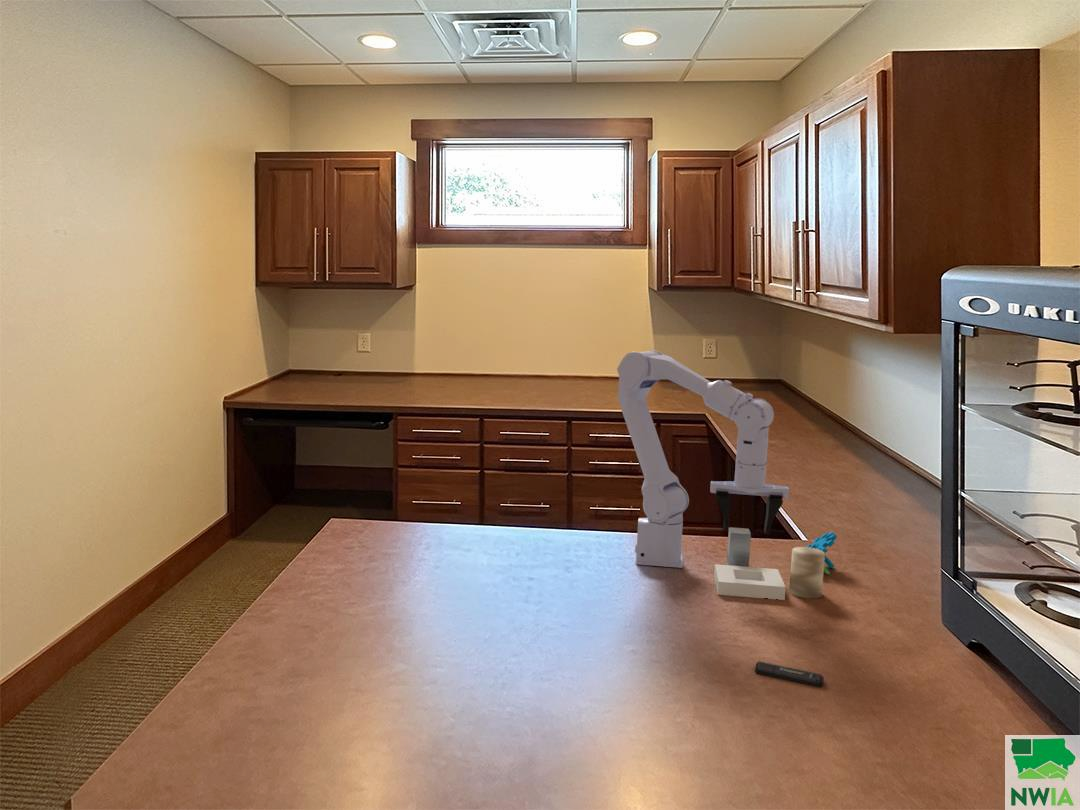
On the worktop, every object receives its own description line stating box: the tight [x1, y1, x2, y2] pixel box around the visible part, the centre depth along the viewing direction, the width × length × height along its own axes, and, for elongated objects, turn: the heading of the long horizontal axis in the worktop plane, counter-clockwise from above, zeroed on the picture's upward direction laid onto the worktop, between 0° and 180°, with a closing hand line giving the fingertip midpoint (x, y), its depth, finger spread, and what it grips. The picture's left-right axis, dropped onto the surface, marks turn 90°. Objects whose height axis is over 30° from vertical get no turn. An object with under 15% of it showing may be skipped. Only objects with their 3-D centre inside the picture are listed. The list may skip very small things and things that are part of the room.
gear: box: [805, 531, 838, 576], centre depth 162 cm, size 11×6×10 cm
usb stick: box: [754, 661, 825, 688], centre depth 113 cm, size 10×3×2 cm, turn 65°
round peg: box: [788, 546, 826, 599], centre depth 147 cm, size 6×6×8 cm
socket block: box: [713, 563, 786, 601], centre depth 149 cm, size 12×10×2 cm
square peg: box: [726, 526, 752, 567], centre depth 159 cm, size 4×4×8 cm
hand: (746, 531), depth 152 cm, fingers open, 7 cm apart
